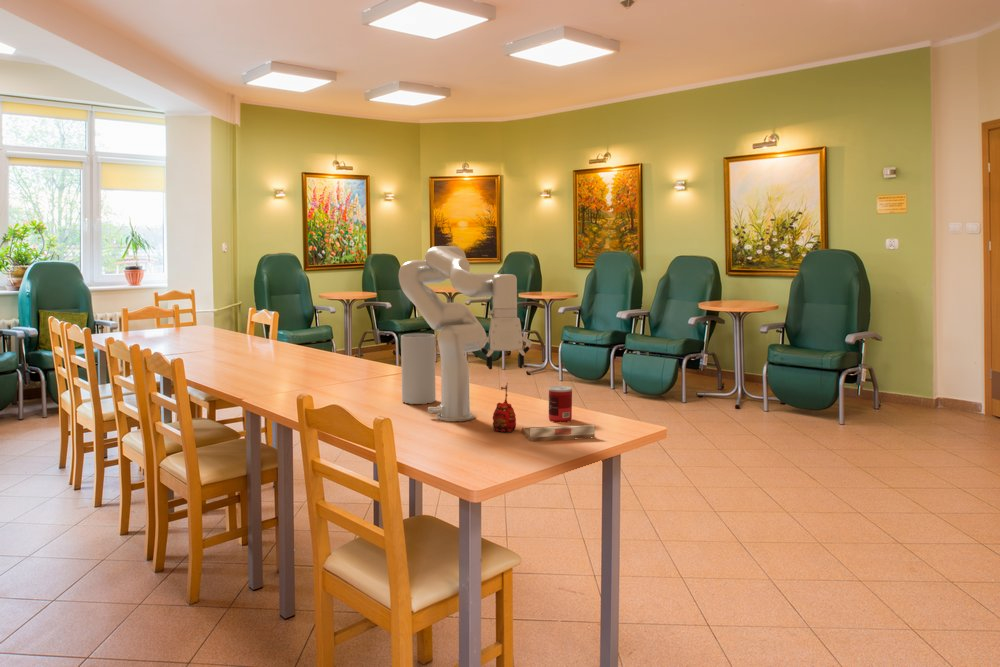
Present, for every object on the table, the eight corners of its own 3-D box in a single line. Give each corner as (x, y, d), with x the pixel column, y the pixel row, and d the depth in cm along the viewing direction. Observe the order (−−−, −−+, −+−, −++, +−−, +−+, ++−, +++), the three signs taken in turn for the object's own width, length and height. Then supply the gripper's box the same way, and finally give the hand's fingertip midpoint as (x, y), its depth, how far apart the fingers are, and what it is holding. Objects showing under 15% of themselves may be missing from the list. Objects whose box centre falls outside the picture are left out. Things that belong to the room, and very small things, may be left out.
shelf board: (530, 441, 224) (530, 429, 224) (521, 431, 236) (521, 419, 236) (594, 438, 228) (594, 425, 227) (582, 428, 240) (582, 416, 239)
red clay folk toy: (489, 431, 236) (488, 384, 234) (498, 426, 242) (498, 381, 240) (511, 434, 233) (510, 386, 231) (520, 429, 239) (520, 383, 237)
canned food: (574, 418, 254) (574, 386, 252) (568, 423, 246) (568, 390, 245) (552, 416, 256) (552, 385, 255) (545, 421, 249) (546, 389, 247)
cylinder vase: (442, 400, 283) (441, 334, 280) (421, 406, 272) (420, 338, 269) (416, 396, 289) (415, 332, 286) (395, 402, 279) (394, 336, 276)
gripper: (479, 315, 228) (480, 371, 230) (534, 314, 231) (534, 369, 233) (475, 313, 235) (476, 367, 237) (529, 312, 238) (529, 365, 240)
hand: (505, 368), depth 235 cm, fingers open, 9 cm apart
